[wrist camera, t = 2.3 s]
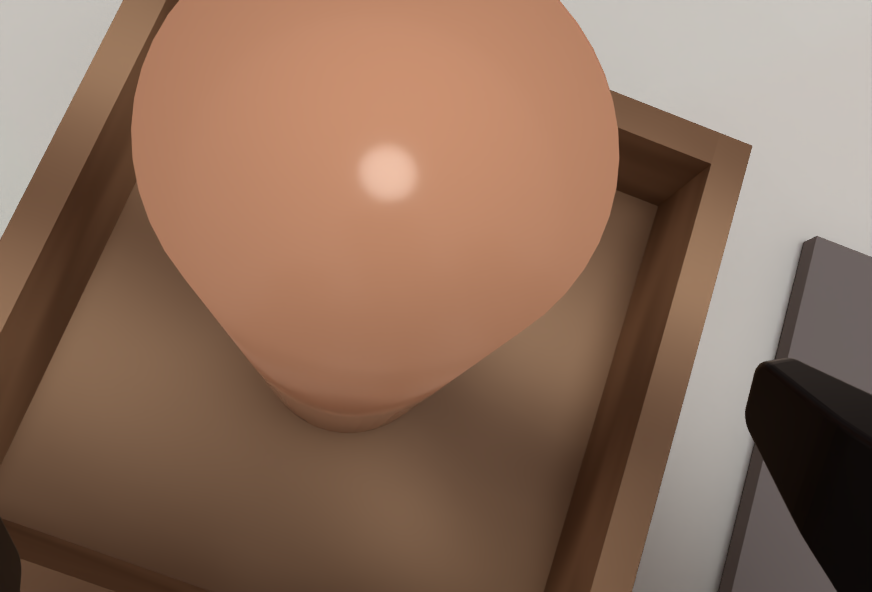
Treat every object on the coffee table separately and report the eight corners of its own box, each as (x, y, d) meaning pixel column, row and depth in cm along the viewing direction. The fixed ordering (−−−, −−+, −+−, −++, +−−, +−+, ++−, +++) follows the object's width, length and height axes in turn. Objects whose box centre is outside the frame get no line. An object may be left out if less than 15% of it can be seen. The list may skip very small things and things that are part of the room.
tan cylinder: (403, 458, 19) (538, 444, 6) (232, 396, 18) (42, 262, 6) (460, 294, 20) (672, 15, 7) (300, 234, 19) (248, -153, 7)
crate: (529, 738, 18) (575, 800, 15) (-64, 532, 17) (-159, 548, 14) (685, 196, 21) (752, 145, 18) (193, 5, 21) (166, -85, 17)
